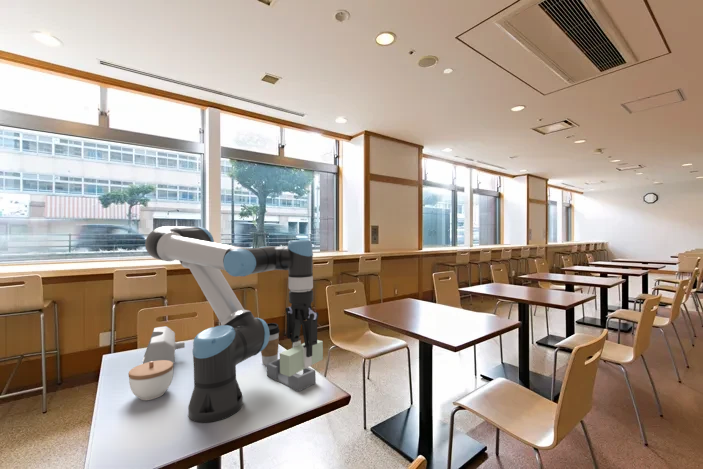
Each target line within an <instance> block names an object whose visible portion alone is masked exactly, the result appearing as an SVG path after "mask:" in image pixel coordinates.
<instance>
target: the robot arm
mask: <svg viewBox="0 0 703 469" xmlns="http://www.w3.org/2000/svg"><path fill="white" fill-rule="evenodd" d="M145 249H146V252H147V253H148V254H149V256H150V257H152V258H154V259H157V260H160V261H165V262H173V261H179V263H180V264H181V266H182V267H183V268H185V269H189V270H190V272H191V274H192V276H193V277H194V279H195V281H196V282H197V284H198V287H200V289H201V292H202V293H203V295H204V296H205V299H206V300H207V301H208V303H209V305H210V307H211V309H212V310H213V312H214V313H215V314H214V315H215V316H216V317H217V320H218V321H219V322H220V325H216V326H211V327H208V328H206V329H204V330H201V331H200V332H198V333H197V334H196V336H195V337H194V339H193V343H192V344H193V347H192V356H193V357H192V360H193V385H194V386H193V390H192V394H191V396H190V397H191V398H190V400H189V403H188V407H187V408H188V414H187V416H188V417H189V419H190V420H192V421H194V422H197V423H211V422H212V423H213V422H216V421H217V422H218V421H221V420H224V419H227V418H229V417H231V416H232V415H235V413H237V412H239V410H241V408H242V407H243V405H244V404H243V403H244V399H243V398H244V396H243V392H242V390H241V388H240V385H239V383H238V380H237V368H236V367H237V365H238V364H240V363H242V362H244V361H245V360H248V359H249V358H251V357H255V356H256V355H258V354H259V353H261V351H262V350H263V349H264V348H265V347H266V346H267V344H268V342H269V337H270V332H269V328H268V325H267V324H268V323H267V322H266V320H264V319H263V318H260V317H255V316H254V314H253V313H252V311H251V310H249V309H245V308H244V307H243V305H242V304H241V302H240V300H239V299H238V297H237V294H235V292H234V290H233V289H232V287H231V285H230V284H229V281H228V280H227V279H226V277H225V276H224V274H223V272H222V271H225V273H227V274H228V275H230V276H232V277H247V276H249V275H254V274H258V273H259V274H260V273H265V272H269V271H287V272H288V289H289V291H288V302H289V303H290V304H291V305H290V306H288V307H285V313H286V337H287V339H290V341H291V348H293V347H296V346H298V345H300V344H302V340H301V339H302V338H301V337H300V335H301V330H302V335H303V341H304V342H303V343H305V345H303V368H307V367H308V368H310V367H312V366H313V365H312V346H313V345H315V344H317V340H318V318H319V314H320V313H319V312H314V310H313V307H312V303H313V302H314V290H313V288H314V273H313V270H314V269H313V267H314V266H313V265H314V264H313V260H314V259H313V258H314V253H313V242H312V241H310V240H308V239H307V240H306V239H300V240H299V239H297V240H296V239H295V240H289V241H288V242H287V246H276V245H275V246H274V245H273V246H271V245H265V246H259V247H253V248H252V247H251V248H247V247H242V246H236V245H229V244H225V243H218V242H215V240H214V237H213V235H212V233H211V232H210V230H208V229H207V228H205V227H203V226H195V225H189V226H178V225H175V226H174V225H172V226H170V225H165V226H159V227H156V228H154V229H153V230H151V232H149V234H148V235H147V236H146V239H145ZM221 270H222V271H221ZM308 341H309V342H308Z"/></svg>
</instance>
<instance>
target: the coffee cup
mask: <svg viewBox="0 0 703 469" xmlns="http://www.w3.org/2000/svg"><path fill="white" fill-rule="evenodd" d="M266 324H267V325H268V328H269V332H270V337H269V342H268V344H267V346H266V347H265V348H264V349H263V350H262V351H260V353H261V361H262V362H261V363H262V365H263V366H267V363H270V362H273V361H275V360H278V359H279V358H278V357H279V355H278V354H279V344H280V336H279V334H280V332H281V331H280V327H279V324H278V323H276V322H269V323H266Z"/></svg>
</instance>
